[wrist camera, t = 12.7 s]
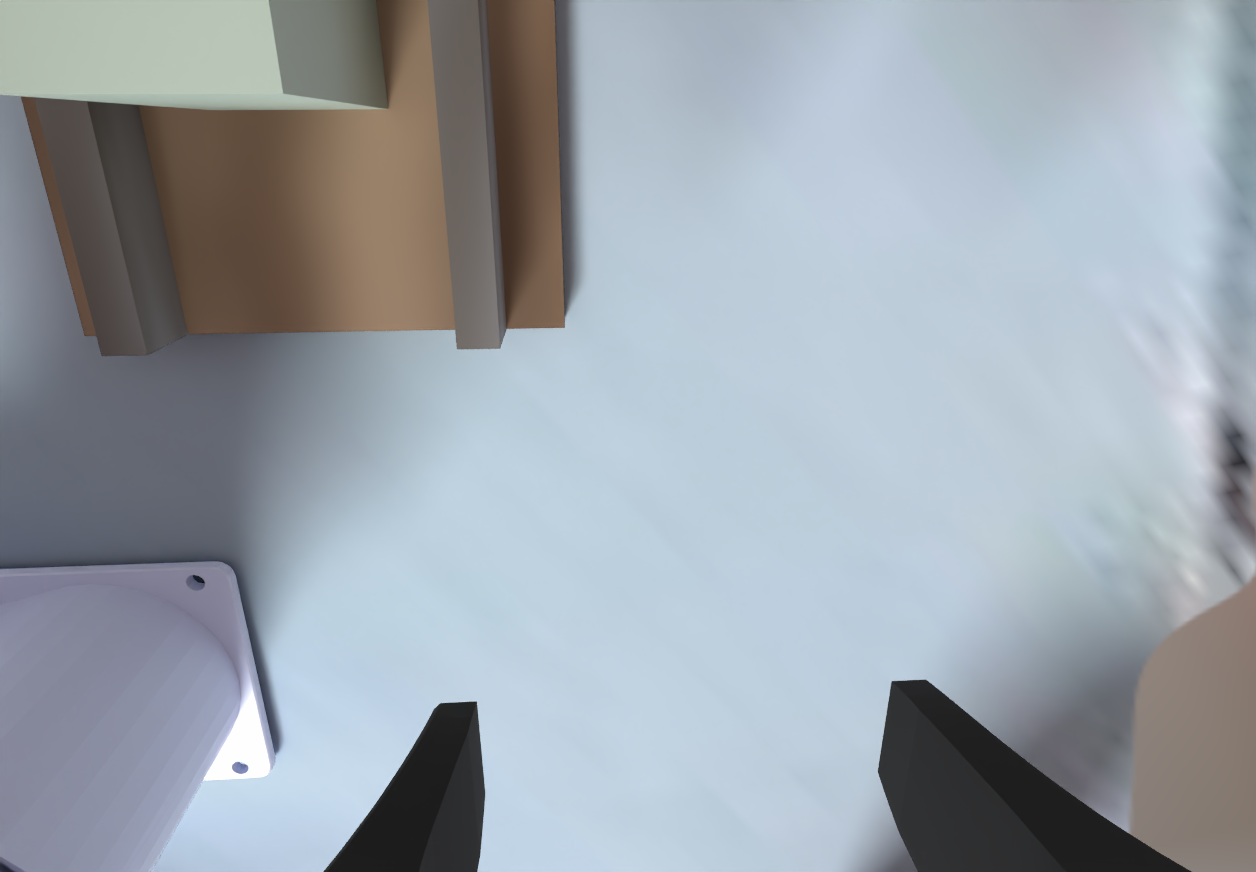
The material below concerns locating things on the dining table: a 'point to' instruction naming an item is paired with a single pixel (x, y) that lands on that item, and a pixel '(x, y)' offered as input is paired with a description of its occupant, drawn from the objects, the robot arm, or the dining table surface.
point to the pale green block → (195, 53)
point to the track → (326, 196)
